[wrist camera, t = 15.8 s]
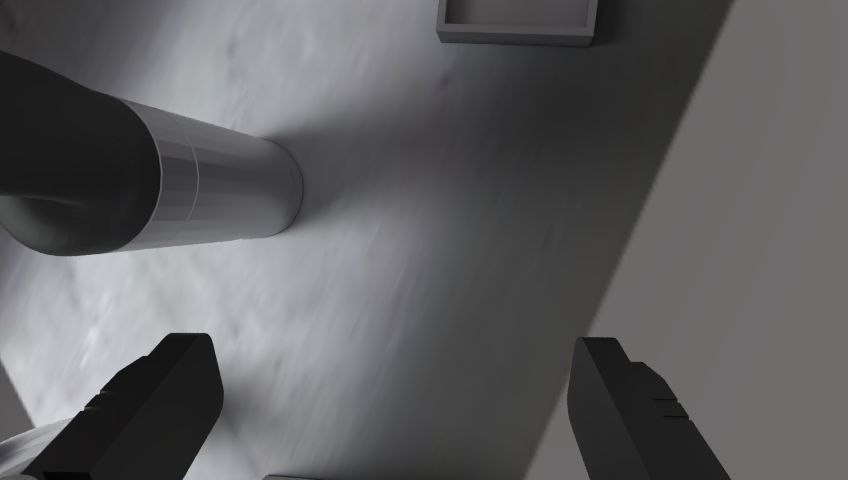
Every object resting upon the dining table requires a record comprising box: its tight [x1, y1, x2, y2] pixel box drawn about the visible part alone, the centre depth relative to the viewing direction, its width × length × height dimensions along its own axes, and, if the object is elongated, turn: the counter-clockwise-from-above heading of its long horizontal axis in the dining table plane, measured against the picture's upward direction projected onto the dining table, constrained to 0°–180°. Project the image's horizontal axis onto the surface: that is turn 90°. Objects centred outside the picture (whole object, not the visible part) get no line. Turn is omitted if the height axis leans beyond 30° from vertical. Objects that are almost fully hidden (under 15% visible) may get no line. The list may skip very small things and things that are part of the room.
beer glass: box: [0, 417, 74, 478], centre depth 40 cm, size 7×7×15 cm
